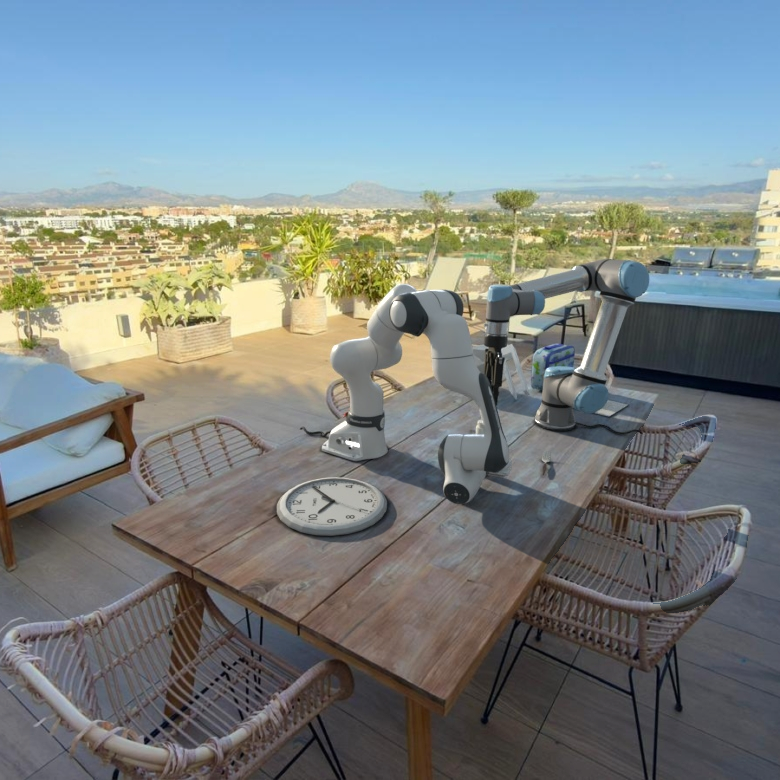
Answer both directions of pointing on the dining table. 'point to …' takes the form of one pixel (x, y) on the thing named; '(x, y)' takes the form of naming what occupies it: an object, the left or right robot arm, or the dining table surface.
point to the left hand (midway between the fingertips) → (482, 451)
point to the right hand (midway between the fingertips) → (490, 402)
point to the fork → (545, 461)
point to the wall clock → (331, 506)
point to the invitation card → (611, 408)
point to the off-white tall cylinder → (480, 427)
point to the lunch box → (550, 361)
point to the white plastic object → (508, 354)
